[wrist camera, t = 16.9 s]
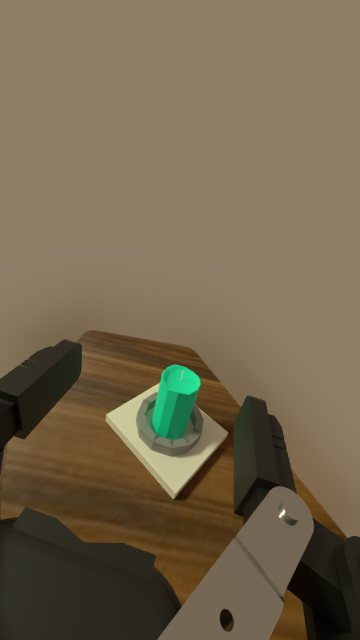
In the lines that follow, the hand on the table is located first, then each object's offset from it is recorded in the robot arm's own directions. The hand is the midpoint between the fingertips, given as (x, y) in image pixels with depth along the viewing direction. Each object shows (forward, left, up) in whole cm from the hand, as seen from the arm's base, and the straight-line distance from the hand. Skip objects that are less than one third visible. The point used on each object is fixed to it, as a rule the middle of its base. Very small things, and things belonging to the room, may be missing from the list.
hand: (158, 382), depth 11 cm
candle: (+9, -17, -27) cm, 33 cm away
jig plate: (+9, -17, -28) cm, 34 cm away
